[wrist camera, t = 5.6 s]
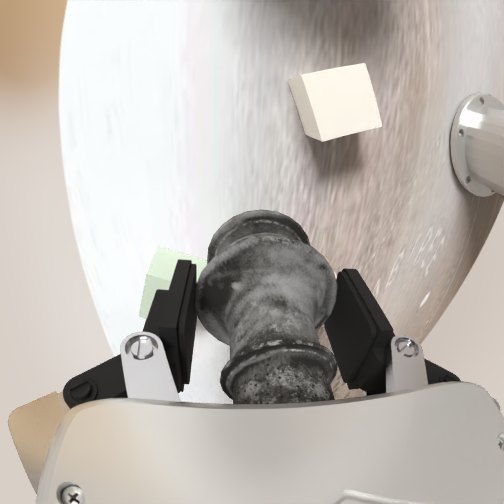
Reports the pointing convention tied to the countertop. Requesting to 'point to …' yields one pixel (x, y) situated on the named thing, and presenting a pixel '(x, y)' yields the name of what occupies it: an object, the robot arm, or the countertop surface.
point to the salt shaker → (268, 309)
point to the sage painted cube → (164, 274)
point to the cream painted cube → (335, 102)
